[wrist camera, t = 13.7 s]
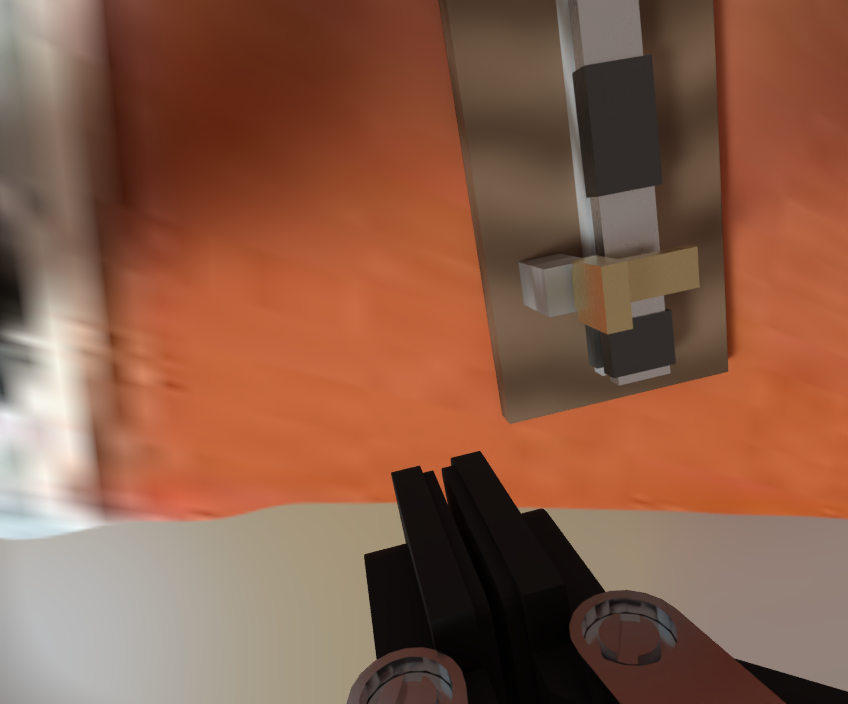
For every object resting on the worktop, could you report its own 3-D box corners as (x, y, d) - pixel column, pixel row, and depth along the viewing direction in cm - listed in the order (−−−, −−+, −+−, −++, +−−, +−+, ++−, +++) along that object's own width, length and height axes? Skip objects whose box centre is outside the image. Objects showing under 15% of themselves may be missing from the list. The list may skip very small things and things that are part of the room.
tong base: (408, -196, 27) (429, -291, 22) (684, -226, 29) (764, -321, 24) (502, 414, 36) (533, 451, 30) (712, 365, 37) (776, 391, 32)
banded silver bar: (544, -153, 26) (556, -173, 25) (618, -162, 27) (634, -183, 25) (605, 381, 32) (617, 388, 31) (665, 367, 33) (679, 373, 32)
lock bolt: (574, 319, 29) (607, 334, 26) (567, 259, 28) (601, 266, 25) (688, 294, 30) (734, 305, 26) (684, 235, 29) (732, 238, 26)
